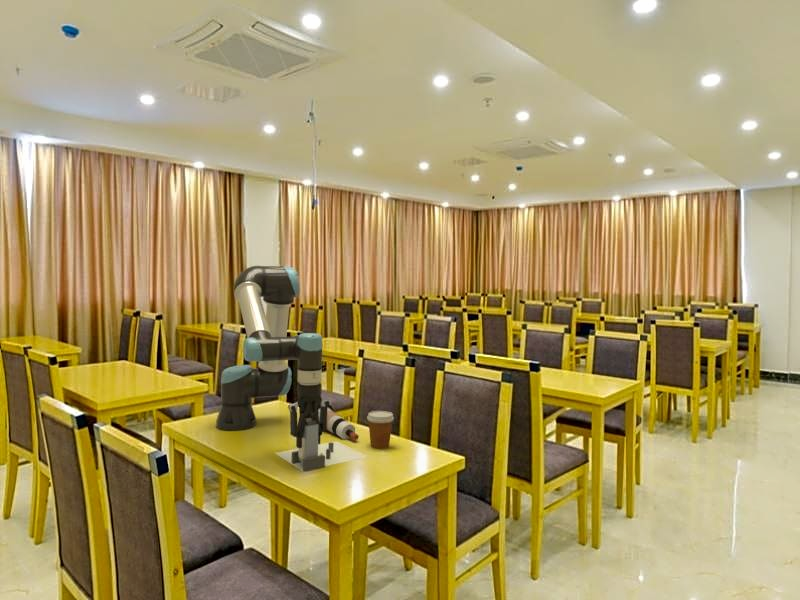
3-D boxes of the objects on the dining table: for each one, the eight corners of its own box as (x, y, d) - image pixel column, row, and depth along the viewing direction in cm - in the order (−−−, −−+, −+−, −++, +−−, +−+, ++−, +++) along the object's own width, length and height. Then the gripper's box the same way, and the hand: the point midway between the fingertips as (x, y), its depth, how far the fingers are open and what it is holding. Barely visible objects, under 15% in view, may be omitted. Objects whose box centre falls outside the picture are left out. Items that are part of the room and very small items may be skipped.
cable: (349, 456, 195) (340, 434, 191) (304, 424, 221) (295, 404, 217) (371, 440, 200) (362, 418, 196) (324, 410, 226) (316, 391, 222)
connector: (298, 460, 172) (299, 419, 172) (310, 457, 175) (310, 417, 174) (306, 464, 168) (306, 422, 168) (317, 462, 171) (318, 420, 170)
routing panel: (274, 454, 182) (274, 442, 182) (336, 442, 196) (336, 431, 196) (303, 473, 166) (303, 460, 165) (368, 458, 180) (368, 446, 180)
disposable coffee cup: (379, 453, 186) (380, 419, 185) (360, 447, 192) (361, 413, 191) (398, 447, 193) (399, 414, 192) (379, 441, 199) (380, 409, 198)
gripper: (289, 387, 162) (288, 464, 163) (339, 382, 173) (337, 454, 174) (279, 383, 168) (277, 457, 169) (327, 378, 178) (325, 448, 180)
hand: (308, 455), depth 171 cm, fingers closed on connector, 4 cm apart
